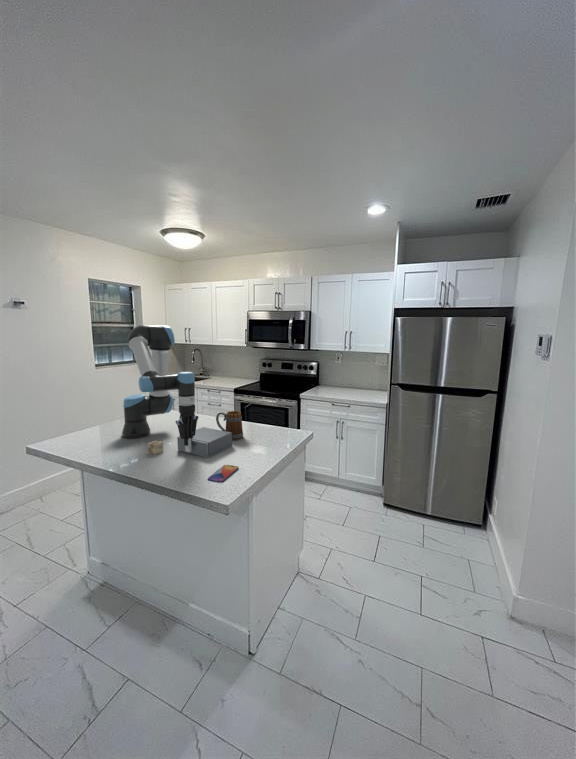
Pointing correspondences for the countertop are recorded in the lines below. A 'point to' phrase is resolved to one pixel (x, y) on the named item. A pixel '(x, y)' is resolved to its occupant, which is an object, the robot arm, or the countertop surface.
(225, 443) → the grey drawer box
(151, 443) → the block
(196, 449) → the gray drawer
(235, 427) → the mug
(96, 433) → the countertop surface
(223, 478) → the smartphone
